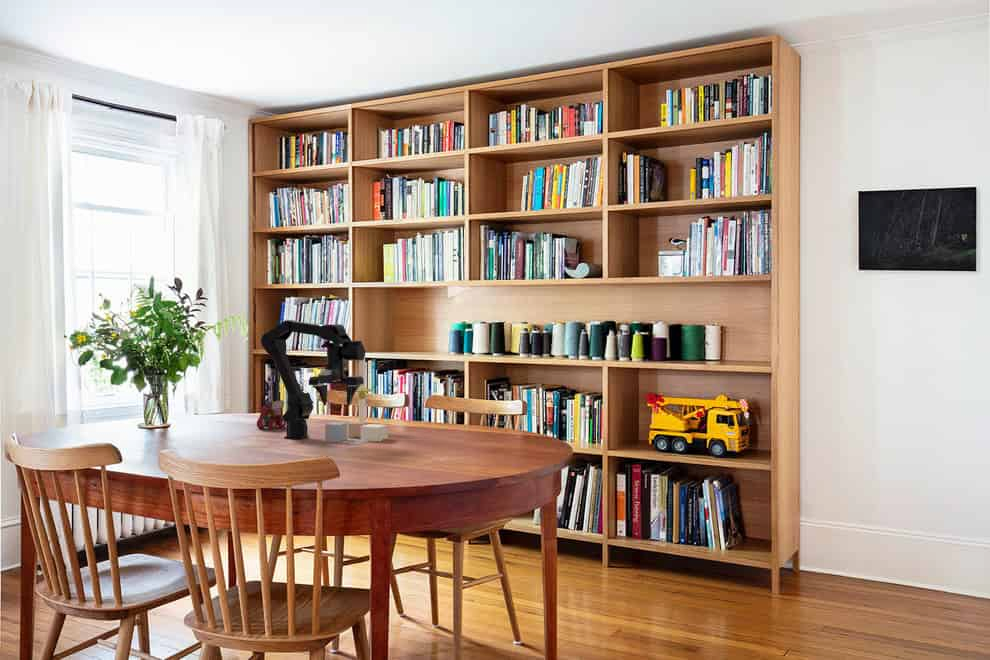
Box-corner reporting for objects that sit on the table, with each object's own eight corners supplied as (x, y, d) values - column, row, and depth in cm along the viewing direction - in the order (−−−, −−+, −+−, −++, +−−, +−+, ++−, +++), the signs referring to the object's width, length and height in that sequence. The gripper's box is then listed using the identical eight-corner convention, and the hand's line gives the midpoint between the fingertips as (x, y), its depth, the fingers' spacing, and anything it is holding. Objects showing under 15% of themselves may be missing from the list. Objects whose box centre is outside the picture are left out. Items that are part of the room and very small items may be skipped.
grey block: (325, 441, 302) (325, 424, 302) (333, 439, 307) (333, 422, 307) (339, 442, 300) (339, 425, 300) (347, 440, 306) (347, 422, 305)
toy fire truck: (252, 429, 329) (252, 402, 329) (275, 425, 340) (275, 398, 340) (267, 431, 326) (267, 403, 325) (289, 426, 337) (289, 399, 337)
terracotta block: (348, 437, 311) (348, 423, 311) (351, 435, 316) (351, 421, 316) (362, 437, 311) (362, 423, 311) (365, 435, 316) (365, 421, 316)
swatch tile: (341, 443, 298) (341, 442, 298) (351, 440, 305) (351, 439, 305) (359, 444, 296) (359, 443, 296) (368, 441, 302) (368, 440, 302)
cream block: (360, 440, 305) (360, 426, 304) (369, 438, 311) (369, 424, 311) (378, 442, 302) (378, 427, 302) (387, 439, 309) (387, 424, 309)
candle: (363, 433, 321) (363, 344, 320) (342, 431, 326) (342, 343, 325) (381, 430, 329) (381, 343, 328) (360, 428, 334) (360, 342, 333)
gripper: (299, 362, 299) (300, 407, 299) (348, 362, 292) (349, 408, 293) (316, 360, 309) (317, 404, 310) (363, 360, 303) (365, 405, 303)
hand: (336, 405), depth 304 cm, fingers open, 9 cm apart
